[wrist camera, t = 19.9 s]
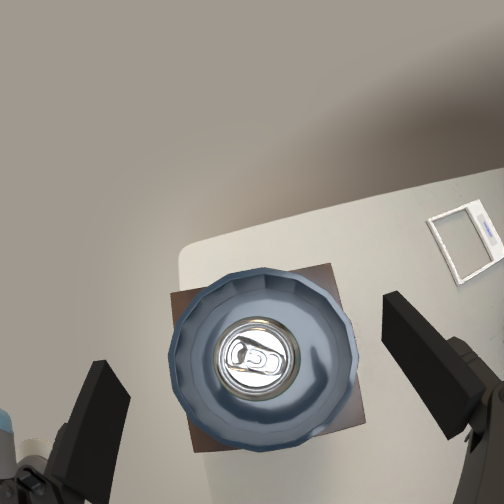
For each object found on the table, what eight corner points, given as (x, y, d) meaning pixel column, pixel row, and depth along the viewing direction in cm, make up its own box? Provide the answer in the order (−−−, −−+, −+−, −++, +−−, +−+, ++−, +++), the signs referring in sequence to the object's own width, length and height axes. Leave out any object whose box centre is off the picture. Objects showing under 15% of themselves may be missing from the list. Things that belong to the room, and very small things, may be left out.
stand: (227, 420, 42) (193, 452, 24) (210, 322, 49) (169, 292, 30) (331, 402, 42) (366, 423, 23) (310, 303, 48) (330, 262, 30)
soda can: (246, 329, 27) (225, 302, 16) (298, 343, 27) (313, 326, 15) (230, 379, 26) (197, 386, 15) (283, 394, 25) (287, 414, 14)
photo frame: (508, 254, 46) (460, 284, 45) (505, 256, 47) (457, 286, 46) (479, 198, 52) (428, 218, 51) (476, 201, 53) (426, 221, 52)
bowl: (200, 444, 24) (185, 458, 19) (178, 299, 30) (160, 285, 25) (356, 417, 24) (372, 426, 19) (324, 272, 30) (333, 253, 25)
